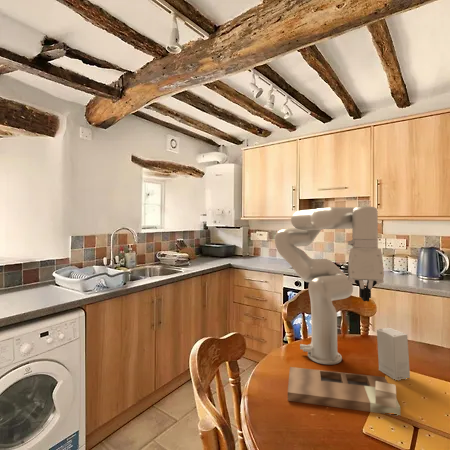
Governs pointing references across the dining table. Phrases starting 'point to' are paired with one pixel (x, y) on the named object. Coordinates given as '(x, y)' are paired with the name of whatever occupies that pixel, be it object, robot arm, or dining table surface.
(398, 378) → the skincare box
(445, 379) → the dining table surface
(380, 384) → the maple block
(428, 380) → the dining table surface
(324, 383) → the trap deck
